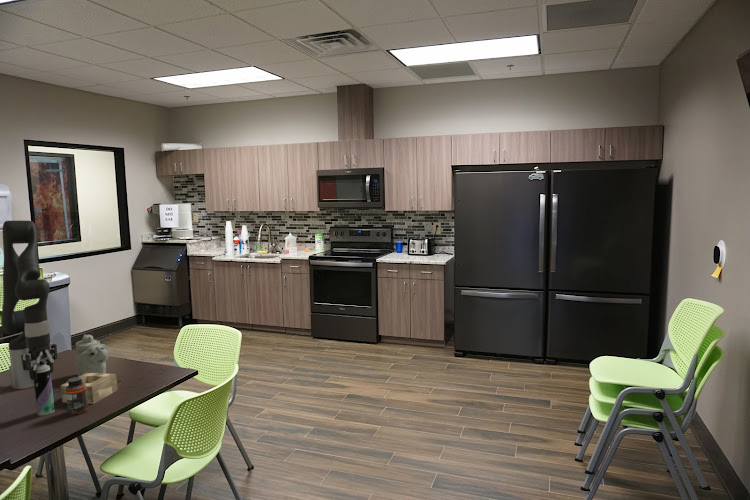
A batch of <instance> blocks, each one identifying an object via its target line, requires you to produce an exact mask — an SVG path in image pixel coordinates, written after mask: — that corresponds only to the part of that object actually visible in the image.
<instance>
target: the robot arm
mask: <svg viewBox="0 0 750 500" xmlns="http://www.w3.org/2000/svg"><path fill="white" fill-rule="evenodd" d="M38 243H39V242H38V231H37V225H36V224H35V222H34V221H32V220H5V221H4V223H3V224H2V247H3V248H2V249H3V270H2V271H3V272H2V292H3V295H2V307H1V308H2V310H1V317H0V318H1V319H0V322H1V323H0V324H1V326H0V327H1V329H2V331H3V333H4V334H7V335H10V334H11V335H13V334H16V333H21V332H22V333H21V334H20V335H18V336H17V337H16V338H14V339H11V340H10V341H9V343H8V352H9V359H10V360H9V361H10V365H9V367H8V369H9V378H10V384H11V385H10V386H11V387H10V388H13V389H14V390H23V389H29V388H32V387H35V386H34V380H37V371H36V367H37V365H38V364H39V361H44V362H45V365H49V366H50V371H51V374H53V373H54V369H55V368H54V362H55V360H57V359H58V347H57V346H58V345H57V344H56V343H55V344H54V343H53V344H52V343H51V334H50V333H51V332H50V325H49V322H48V314H47V304H48V298H49V294H50V284H49V282H48V280H46V279H43V278H41V275H42V274H41V268H40V263H39V257H38V251H39V249H38V248H39V247H38V245H39V244H38ZM15 244H16V245H17V244H20V245H21V244H27V246H26V247H25V249H24V250H23V251H22V252H21V253H20V254H19V255H18V253H17V251H16V250H15V248H14V245H15ZM28 300H29V301H30V300H37V302H36V303H34V304H31V305H28V306H25V307H24V308H23V309H19V310H15V309H16V306H17V304H18V302H20V301H28Z"/></svg>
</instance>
